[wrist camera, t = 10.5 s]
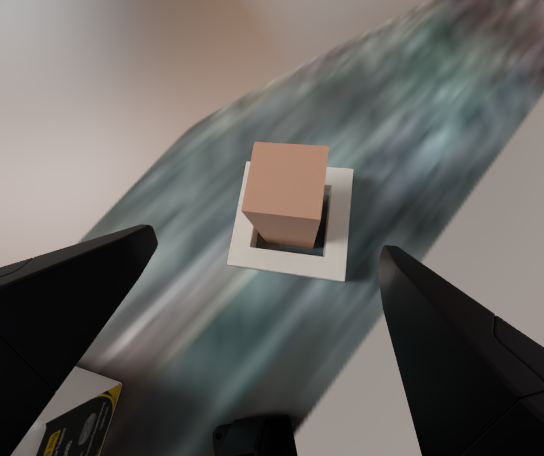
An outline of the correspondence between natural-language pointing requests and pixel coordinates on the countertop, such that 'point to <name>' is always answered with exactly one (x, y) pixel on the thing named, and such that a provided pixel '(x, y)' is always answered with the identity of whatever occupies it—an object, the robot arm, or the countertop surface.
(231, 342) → the countertop surface
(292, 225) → the plug
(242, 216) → the socket block
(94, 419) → the printed box
